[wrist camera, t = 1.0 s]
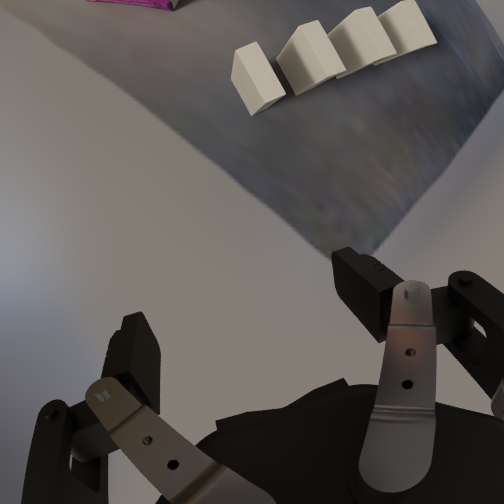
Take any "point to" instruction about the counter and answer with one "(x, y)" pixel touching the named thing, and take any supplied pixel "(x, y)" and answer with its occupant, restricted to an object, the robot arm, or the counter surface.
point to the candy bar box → (146, 3)
